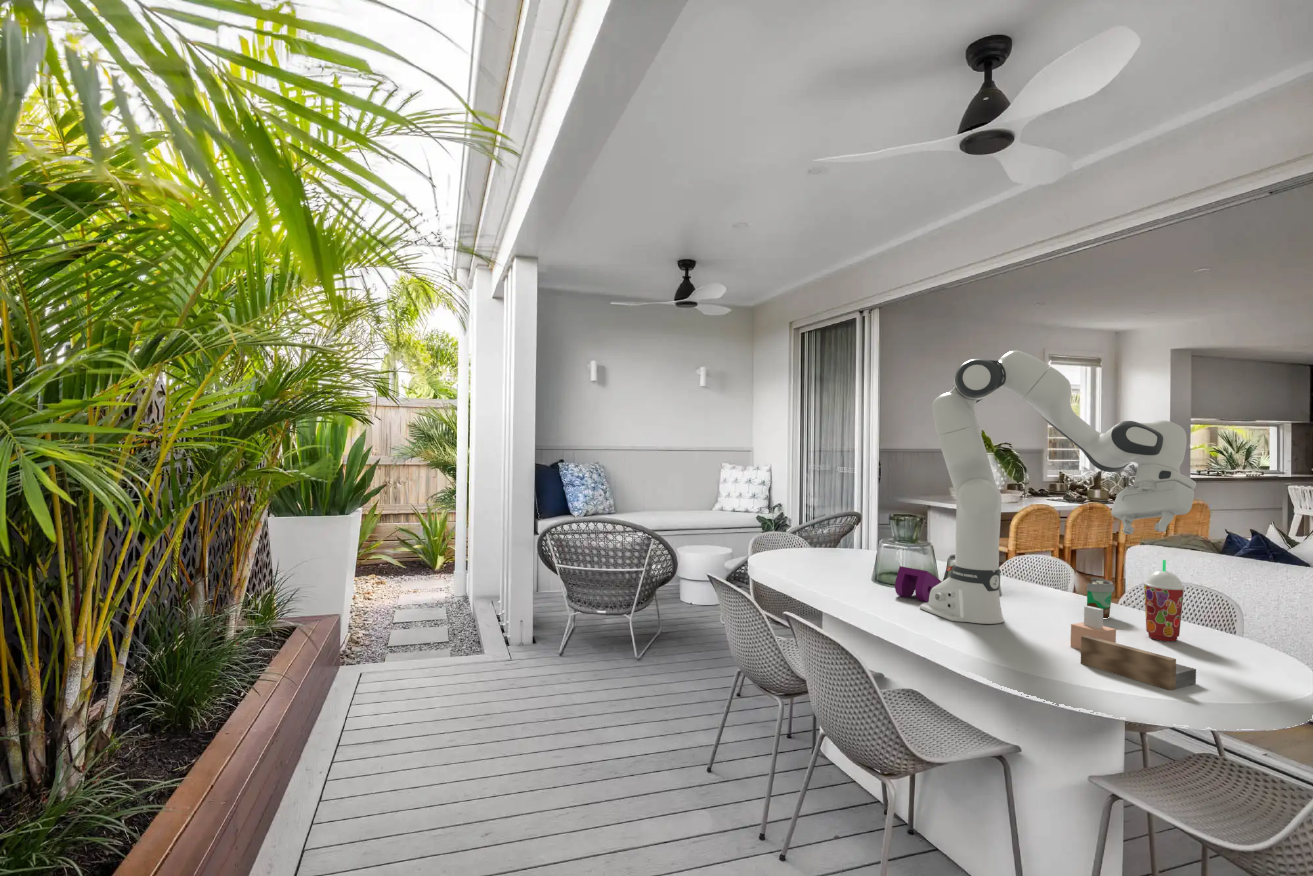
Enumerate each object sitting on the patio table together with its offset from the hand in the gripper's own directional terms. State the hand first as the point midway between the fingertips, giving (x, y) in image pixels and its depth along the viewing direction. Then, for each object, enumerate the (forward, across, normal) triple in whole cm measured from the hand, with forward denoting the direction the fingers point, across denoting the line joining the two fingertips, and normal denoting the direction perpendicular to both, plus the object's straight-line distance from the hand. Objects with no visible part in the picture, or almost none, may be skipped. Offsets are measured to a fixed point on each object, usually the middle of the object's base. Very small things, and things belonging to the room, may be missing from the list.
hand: (1143, 532), depth 173 cm
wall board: (+37, +14, -6) cm, 40 cm away
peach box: (+32, -2, -3) cm, 32 cm away
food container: (+15, -30, +20) cm, 39 cm away
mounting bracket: (+26, -57, -17) cm, 65 cm away
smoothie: (+20, -8, +20) cm, 29 cm away
